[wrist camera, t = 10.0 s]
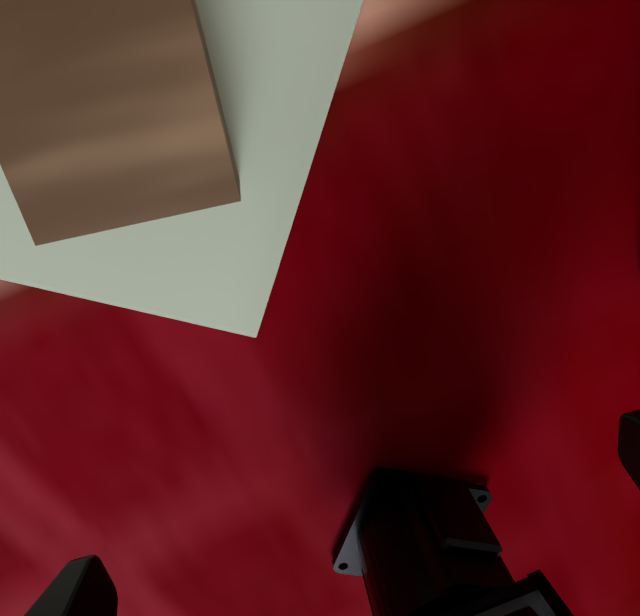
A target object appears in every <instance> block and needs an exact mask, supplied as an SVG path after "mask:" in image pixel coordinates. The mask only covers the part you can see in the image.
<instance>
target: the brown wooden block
mask: <svg viewBox="0 0 640 616" xmlns="http://www.w3.org/2000/svg"><path fill="white" fill-rule="evenodd" d="M0 165H1V168H2V170H3V172H4V174H5V177H6V179H7V181H8V184H9V186H10V188H11V191H12V193H13V195H14V198H15V200H16V202H17V205H18V207H19V209H20V211H21V214H22V216H23V218H24V221H25V223H26V225H27V228H28V230H29V232H30V235H31V237H32V239H33V242H34V244H35V246H38V245H42V244H47V243H51V242H56V241H60V240H65V239H70V238H74V237H79V236H83V235H88V234H93V233H97V232H102V231H106V230H111V229H116V228H120V227H125V226H129V225H134V224H138V223H143V222H148V221H152V220H157V219H161V218H166V217H171V216H175V215H180V214H184V213H189V212H193V211H198V210H203V209H207V208H212V207H216V206H221V205H226V204H230V203H235V202H239V201H241V193H240V179H239V175H238V171H237V167H236V163H235V158H234V154H233V150H232V146H231V142H230V138H229V134H228V130H227V126H226V122H225V118H224V114H223V110H222V106H221V102H220V98H219V94H218V90H217V86H216V81H215V77H214V73H213V69H212V65H211V61H210V57H209V53H208V49H207V45H206V41H205V37H204V33H203V29H202V25H201V21H200V17H199V13H198V8H197V4H196V0H0Z"/></svg>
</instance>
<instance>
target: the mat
mask: <svg viewBox="0 0 640 616" xmlns="http://www.w3.org/2000/svg"><path fill="white" fill-rule="evenodd" d="M362 3H363V0H196V4H197V8H198V13H199V17H200V21H201V25H202V29H203V33H204V37H205V41H206V45H207V49H208V53H209V57H210V61H211V65H212V69H213V73H214V77H215V81H216V86H217V90H218V94H219V98H220V102H221V106H222V110H223V114H224V118H225V122H226V126H227V130H228V134H229V138H230V142H231V146H232V150H233V154H234V158H235V163H236V167H237V171H238V175H239V179H240V193H241V201H239V202H235V203H230V204H226V205H221V206H216V207H212V208H207V209H203V210H198V211H193V212H189V213H184V214H180V215H175V216H171V217H166V218H161V219H157V220H152V221H148V222H143V223H138V224H134V225H129V226H125V227H120V228H116V229H111V230H106V231H102V232H97V233H93V234H88V235H83V236H79V237H74V238H70V239H65V240H60V241H56V242H51V243H47V244H42V245H38V246H35V244H34V242H33V239H32V237H31V235H30V232H29V230H28V228H27V225H26V223H25V221H24V218H23V216H22V214H21V211H20V209H19V207H18V205H17V202H16V200H15V198H14V195H13V193H12V191H11V188H10V186H9V184H8V181H7V179H6V177H5V174H4V172H3V170H2V168H1V165H0V279H1V280H5V281H10V282H14V283H19V284H23V285H27V286H32V287H36V288H40V289H45V290H49V291H53V292H58V293H62V294H67V295H71V296H75V297H80V298H84V299H88V300H93V301H97V302H101V303H106V304H110V305H115V306H119V307H123V308H128V309H132V310H136V311H141V312H145V313H150V314H154V315H158V316H163V317H167V318H171V319H176V320H180V321H184V322H189V323H193V324H198V325H202V326H206V327H211V328H215V329H219V330H224V331H228V332H233V333H237V334H241V335H246V336H250V337H254V338H256V337H257V334H258V330H259V327H260V324H261V321H262V318H263V315H264V312H265V308H266V305H267V302H268V299H269V296H270V293H271V289H272V286H273V283H274V280H275V277H276V274H277V271H278V267H279V264H280V261H281V258H282V255H283V252H284V249H285V245H286V242H287V239H288V236H289V233H290V230H291V227H292V223H293V220H294V217H295V214H296V211H297V208H298V205H299V201H300V198H301V195H302V192H303V189H304V186H305V183H306V179H307V176H308V173H309V170H310V167H311V164H312V161H313V157H314V154H315V151H316V148H317V145H318V142H319V139H320V135H321V132H322V129H323V126H324V123H325V120H326V117H327V113H328V110H329V107H330V104H331V101H332V98H333V95H334V91H335V88H336V85H337V82H338V79H339V76H340V72H341V69H342V66H343V63H344V60H345V57H346V54H347V50H348V47H349V44H350V41H351V38H352V35H353V32H354V28H355V25H356V22H357V19H358V16H359V13H360V10H361V6H362Z"/></svg>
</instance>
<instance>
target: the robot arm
mask: <svg viewBox="0 0 640 616" xmlns="http://www.w3.org/2000/svg"><path fill="white" fill-rule="evenodd" d="M618 455H619V458H620V461H621V463H622V465H623V466H624V468H625V469H626V471H627V472H628V474H629V475H630V477H631V478H632V480H633V481H634V482H635V484H636V485H637V487H638V488H639V490H640V409H639V410H635V411H631V412H627V413H624V414H623V415H622V416H621V417H620V420H619V436H618ZM380 478H384V479H382V480H378V479H380ZM481 495H482V496H481ZM479 496H480V497H479ZM491 498H492V496H491V493H490V492H489V490H488V488H487V487H485V486H483V485H477V484H471V483H466V482H463V481H457V480H451V479H446V478H440V477H434V476H429V475H423V474H414V473H409V472H403V471H397V470H392V469H386V468H378V469H375V470H374V471H373V472H372V473H371V474H370V476H369V479H368V481H367V483H366V485H365V487H364V490H363V492H362V494H361V496H360V499H359V501H358V503H357V505H356V508H355V510H354V512H353V514H352V517H351V519H350V521H349V523H348V526H347V528H346V530H345V532H344V535H343V537H342V539H341V541H340V543H339V546H338V548H337V550H336V552H335V555H334V557H333V560H332V563H333V568H334V571H336V572H337V573H340V574H349V575H358V576H363V580H364V584H365V587H366V591H367V595H368V599H369V603H370V607H371V611H372V615H373V616H574V615H573V614H572V613H571V611H570V610H569V609H568V607H567V606H566V604H565V603H564V602H563V600H562V599H561V598H560V596H559V595H558V594H557V592H556V591H555V590H554V588H553V587H552V585H551V584H550V583H549V581H548V580H547V579H546V577H545V576H544V575H543V573H542V572H541V571H540V570H537V571H535V572H532V573H530V574H527V576H528V577H527V578H524V579H522V580H519V581H517V582H514V580H513V578H512V576H511V574H510V573H509V571H508V569H507V567H506V565H505V563H504V562H503V560H502V558H501V556H500V554H501V552H502V547H501V545H500V543H499V541H498V540H497V538H496V536H495V534H494V533H493V531H492V529H491V527H490V526H489V524H488V522H487V520H486V519H485V517H484V515H483V513H484V512H485V510H486V508H487V506H488V504H489V503H490V501H491ZM117 606H118V598H117V591H116V588H115V585H114V583H113V582H112V580H111V578H110V576H109V574H108V572H107V570H106V569H105V567H104V565H103V563H102V561H101V560H100V558H99V557H98V556H96V555H89V556H85V557H82V558H78V559H74V560H72V561H70V562H69V563H68V564H67V565H66V566H65V567H64V568H63V569H62V570H61V572H60V573H59V574H58V575H57V576H56V578H55V579H54V580H53V581H52V583H51V584H50V585H49V586H48V587H47V589H46V590H45V591H44V592H43V593H42V595H41V596H40V597H39V598H38V599H37V601H36V602H35V603H34V604H33V605H32V607H31V608H30V609H29V610H28V611H27V613H26V614H25V615H24V616H117Z"/></svg>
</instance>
